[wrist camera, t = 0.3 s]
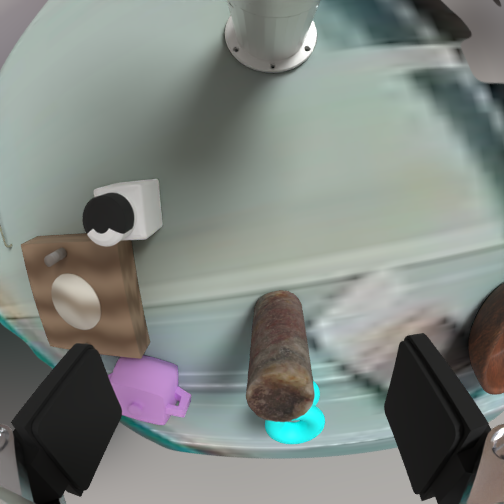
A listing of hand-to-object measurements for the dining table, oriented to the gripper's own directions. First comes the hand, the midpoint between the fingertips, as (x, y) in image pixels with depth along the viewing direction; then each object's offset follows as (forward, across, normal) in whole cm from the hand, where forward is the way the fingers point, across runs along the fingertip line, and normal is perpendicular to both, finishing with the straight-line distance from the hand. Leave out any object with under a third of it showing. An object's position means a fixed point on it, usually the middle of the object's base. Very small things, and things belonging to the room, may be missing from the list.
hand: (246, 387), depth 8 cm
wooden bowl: (+36, -50, +25) cm, 67 cm away
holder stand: (+36, +30, +12) cm, 48 cm away
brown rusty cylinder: (+36, -2, +17) cm, 40 cm away
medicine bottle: (+36, +18, -1) cm, 40 cm away
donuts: (+36, -4, +35) cm, 50 cm away
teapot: (+36, +23, +31) cm, 53 cm away
